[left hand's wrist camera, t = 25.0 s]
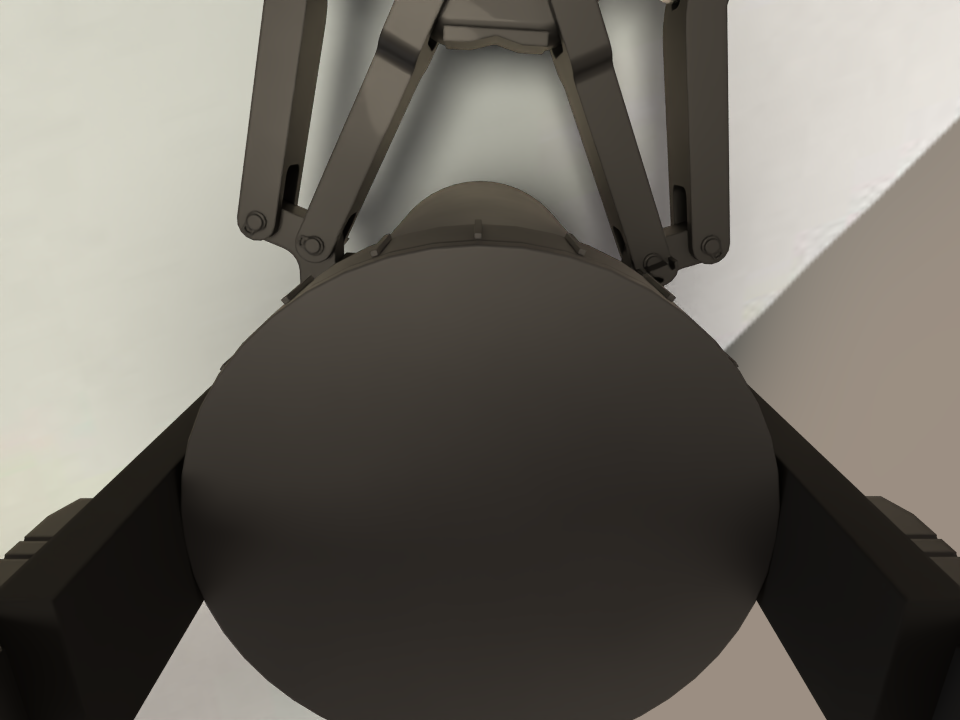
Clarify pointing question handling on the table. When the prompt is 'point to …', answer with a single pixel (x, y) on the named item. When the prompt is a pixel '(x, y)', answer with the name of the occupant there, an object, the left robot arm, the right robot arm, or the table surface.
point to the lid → (480, 486)
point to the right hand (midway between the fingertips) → (473, 434)
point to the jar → (479, 209)
